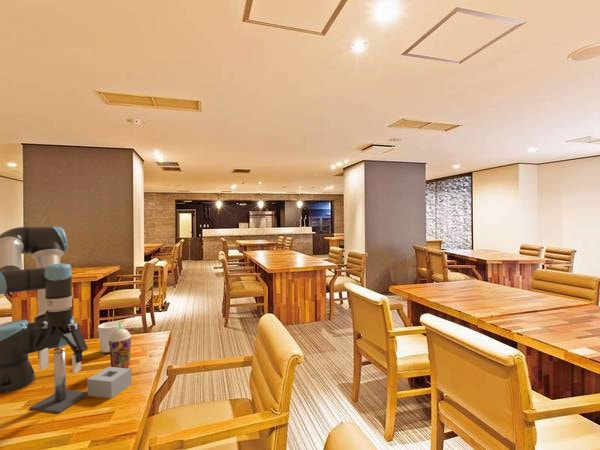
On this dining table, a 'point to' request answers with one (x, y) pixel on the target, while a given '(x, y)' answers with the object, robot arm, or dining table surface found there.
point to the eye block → (109, 382)
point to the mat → (59, 407)
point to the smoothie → (120, 348)
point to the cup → (106, 334)
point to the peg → (59, 374)
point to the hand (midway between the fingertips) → (60, 369)
